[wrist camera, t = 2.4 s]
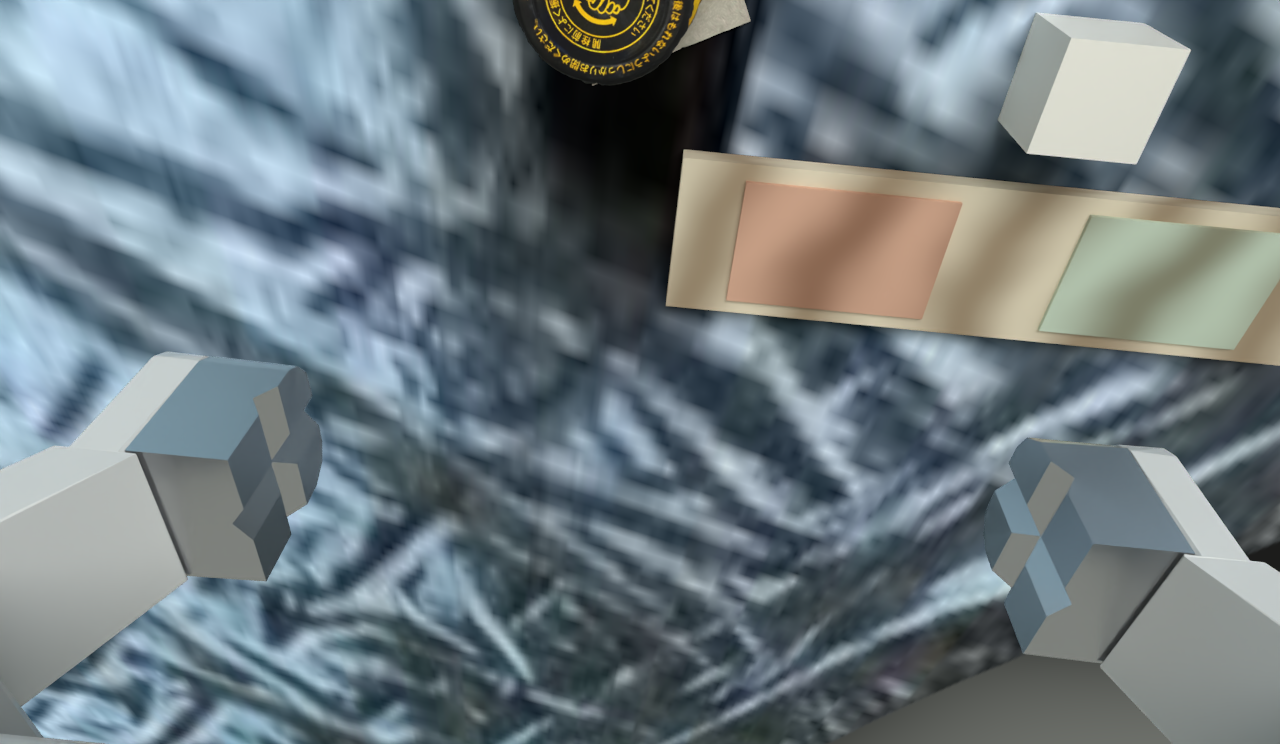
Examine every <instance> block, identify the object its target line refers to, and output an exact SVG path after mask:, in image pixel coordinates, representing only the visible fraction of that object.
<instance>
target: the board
mask: <svg viewBox="0 0 1280 744" xmlns="http://www.w3.org/2000/svg"><path fill="white" fill-rule="evenodd" d="M666 306H672V307H682V308H693V309H703V310H713V311H723V312H734V313H744V314H754V315H765V316H775V317H785V318H795V319H806V320H816V321H826V322H836V323H847V324H857V325H867V326H878V327H888V328H898V329H908V330H919V331H929V332H939V333H950V334H960V335H970V336H980V337H991V338H1001V339H1011V340H1022V341H1032V342H1042V343H1052V344H1063V345H1073V346H1083V347H1093V348H1104V349H1114V350H1124V351H1135V352H1145V353H1155V354H1165V355H1176V356H1186V357H1196V358H1207V359H1217V360H1227V361H1237V362H1248V363H1258V364H1268V365H1278V366H1280V208H1273V207H1263V206H1253V205H1243V204H1233V203H1223V202H1213V201H1202V200H1192V199H1182V198H1172V197H1162V196H1152V195H1142V194H1131V193H1121V192H1111V191H1101V190H1091V189H1081V188H1070V187H1060V186H1050V185H1040V184H1030V183H1020V182H1010V181H999V180H989V179H979V178H969V177H959V176H949V175H938V174H928V173H918V172H908V171H898V170H888V169H878V168H867V167H857V166H847V165H837V164H827V163H817V162H807V161H796V160H786V159H776V158H766V157H756V156H746V155H735V154H725V153H715V152H705V151H695V150H685V149H684V151H683V159H682V168H681V176H680V184H679V193H678V201H677V210H676V218H675V227H674V235H673V244H672V252H671V261H670V269H669V278H668V286H667V295H666Z"/></svg>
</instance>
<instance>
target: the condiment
mask: <svg viewBox="0 0 1280 744" xmlns="http://www.w3.org/2000/svg"><path fill="white" fill-rule="evenodd" d="M513 5H514V11H515V14H516V17H517V19H518V22H519V25H520V26H521V28H522V31H523V32H524V33H525V35H526V37H527V40H528V42H529V43H530V44H531V45H532V47H533V48H534V49H535V51H536V52H537V53H538V54H539V57H540V58H541V59H542V60H543V61H545V62H546V63H547V64H549V65H550V66H551V67H553V68H554V69H556V70H557V71H559V72H561V73H563V74H565V75H568V76H569V77H571V78H573V79H579V80H582V81H583V82H584V83H586V84H592V86H593V85H596V84H601V85H616V84H622V83H626V82H630V81H633V80H635V79H637V78H640V77H643V76H644V75H646V74H648V73H650V72H651V71H653V70H655V69H656V68H657V67H658V66H659V65H660V64H661V63H663V62H664V61H665V60H667V59H668V58H669V56H670V55H671V53H672V52H675V51H677V50H679V49H681V48H682V47H686V46H689V45H692V44H695V43H697V42H699V41H702V40H705V39H707V38H710V37H712V36H714V35H717V34H719V33H721V32H724V31H727V30H730V29H732V28H735V27H737V26H740V25H742V24H745V23H747V22H750V17H749V14H748V11H747V8H746V4H745V1H744V0H513Z"/></svg>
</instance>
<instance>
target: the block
mask: <svg viewBox="0 0 1280 744" xmlns="http://www.w3.org/2000/svg"><path fill="white" fill-rule="evenodd" d="M1190 51H1191V49H1189V48H1187V47H1185V46H1183V45H1182V44H1180V43H1178V42H1176V41H1175V40H1173V39H1171V38H1169V37H1168V36H1166V35H1164V34H1162V33H1161V32H1159V31H1157V30H1155V29H1154V28H1152V27H1150V26H1148V25H1147V24H1145V23H1136V22H1126V21H1116V20H1106V19H1096V18H1086V17H1076V16H1066V15H1056V14H1046V13H1036V14H1035V17H1034V20H1033V22H1032V25H1031V28H1030V31H1029V34H1028V36H1027V39H1026V42H1025V45H1024V48H1023V50H1022V53H1021V56H1020V59H1019V62H1018V64H1017V67H1016V70H1015V73H1014V76H1013V79H1012V81H1011V84H1010V87H1009V90H1008V93H1007V95H1006V98H1005V101H1004V104H1003V107H1002V109H1001V112H1000V115H999V118H998V121H999V122H1000V123H1001V124H1002V126H1003V127H1004V128H1005V129H1006V130H1007V131H1008V132H1009V134H1010V135H1011V136H1012V137H1013V138H1014V139H1015V141H1016V142H1017V143H1018V144H1019V145H1020V146H1021V148H1022V149H1023V150H1024V151H1025V152H1026V153H1027V154H1036V155H1046V156H1056V157H1067V158H1077V159H1087V160H1097V161H1107V162H1117V163H1128V164H1137V162H1138V160H1139V158H1140V156H1141V154H1142V152H1143V149H1144V147H1145V145H1146V143H1147V141H1148V139H1149V137H1150V135H1151V133H1152V131H1153V129H1154V126H1155V124H1156V122H1157V120H1158V118H1159V116H1160V114H1161V112H1162V110H1163V108H1164V106H1165V103H1166V101H1167V99H1168V97H1169V95H1170V93H1171V91H1172V89H1173V87H1174V85H1175V83H1176V80H1177V78H1178V76H1179V74H1180V72H1181V70H1182V68H1183V66H1184V64H1185V62H1186V60H1187V57H1188V55H1189V53H1190Z"/></svg>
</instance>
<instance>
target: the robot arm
mask: <svg viewBox="0 0 1280 744" xmlns="http://www.w3.org/2000/svg"><path fill="white" fill-rule="evenodd" d="M311 397H312V392H311V388H310V385H309V381H308V377H307V373H306V372H305V371H303V370H302V369H301V368H299V367H298V366H290V365H282V364H273V363H265V362H257V361H248V360H240V359H232V358H223V357H215V356H211V357H207V356H201V355H192V354H184V353H175V352H164V353H161V354H158V355H155V356H153V357H152V358H151V359H150V360H149V361H148V362H147V363H146V364H145V366H144V367H143V368H142V369H141V370H140V371H139V372H138V373H137V374H136V375H135V376H134V377H133V378H132V380H131V381H130V382H129V383H128V384H127V385H126V386H125V387H124V388H123V389H122V390H121V391H120V393H119V394H118V395H117V396H116V397H115V398H114V399H113V400H112V401H111V402H110V403H109V404H108V405H107V407H106V408H105V409H104V410H103V411H102V412H101V413H100V414H99V415H98V416H97V417H96V418H95V419H94V421H93V422H92V423H91V424H90V425H89V426H88V427H87V428H86V429H85V430H84V431H83V432H82V434H81V435H80V436H79V437H78V438H77V439H76V440H75V441H74V442H73V443H72V444H71V445H70V446H69V447H63V446H52V447H50V448H48V449H46V450H43V451H41V452H39V453H37V454H34V455H32V456H30V457H28V458H25V459H23V460H21V461H19V462H17V463H14V464H12V465H10V466H8V467H5V468H3V469H1V470H0V744H104V743H93V742H83V741H72V740H61V739H51V738H43V736H42V735H41V734H40V732H39V731H38V729H37V728H36V727H35V725H34V724H33V723H32V721H31V720H30V718H29V717H28V716H27V714H26V713H25V712H24V710H23V709H22V707H21V706H23V705H24V704H25V703H27V702H28V701H29V700H31V699H32V698H33V697H35V696H36V695H37V694H38V693H40V692H41V691H42V690H44V689H45V688H46V687H48V686H49V685H50V684H52V683H53V682H54V681H56V680H57V679H58V678H60V677H61V676H62V675H63V674H65V673H66V672H67V671H69V670H70V669H71V668H73V667H74V666H75V665H77V664H78V663H79V662H81V661H82V660H83V659H85V658H86V657H87V656H89V655H90V654H91V653H92V652H94V651H95V650H96V649H98V648H99V647H100V646H102V645H103V644H104V643H106V642H107V641H108V640H110V639H111V638H112V637H114V636H115V635H116V634H117V633H119V632H120V631H121V630H123V629H124V628H125V627H127V626H128V625H129V624H131V623H132V622H133V621H135V620H136V619H137V618H139V617H140V616H141V615H142V614H144V613H145V612H146V611H148V610H149V609H150V608H152V607H153V606H154V605H156V604H157V603H158V602H160V601H161V600H162V599H164V598H165V597H166V596H167V595H169V594H170V593H171V592H173V591H174V590H175V589H177V588H178V587H179V586H181V585H182V584H183V583H185V582H186V581H187V579H188V578H187V576H197V577H212V578H226V579H241V580H255V581H267V579H268V577H269V575H270V573H271V571H272V570H273V568H274V566H275V564H276V562H277V560H278V558H279V556H280V555H281V553H282V551H283V549H284V547H285V545H286V543H287V541H288V539H289V538H290V536H291V531H290V527H289V523H288V519H287V517H288V516H289V515H291V514H292V513H294V512H295V511H297V510H299V509H300V508H302V507H303V506H305V505H307V503H308V501H309V499H310V497H311V495H312V493H313V491H314V489H315V487H316V485H317V481H318V477H319V472H320V468H321V464H322V439H321V434H320V429H319V425H318V424H317V423H316V422H315V421H314V420H313V419H312V418H311V417H310V416H309V415H308V414H307V413H306V412H305V411H304V409H305V407H306V405H307V404H308V402H309V400H310V399H311ZM1009 465H1010V467H1011V470H1012V472H1013V474H1014V477H1015V479H1013V480H1011V481H1010V482H1008V483H1007V484H1005V485H1003V486H1002V487H1000V488H999V489H997V490H995V492H994V494H993V496H992V498H991V501H990V503H989V505H988V507H987V510H986V513H985V522H984V532H983V536H984V543H985V551H986V554H987V557H988V560H989V563H990V566H991V569H992V571H994V572H995V573H996V574H997V575H998V576H999V577H1000V578H1001V579H1002V580H1004V581H1005V582H1006V583H1007V584H1008V585H1009V586H1010V587H1011V590H1010V592H1009V594H1008V596H1007V598H1006V600H1005V602H1004V604H1005V607H1006V609H1007V612H1008V615H1009V617H1010V620H1011V622H1012V625H1013V628H1014V630H1015V633H1016V636H1017V638H1018V641H1019V644H1020V646H1021V649H1022V652H1023V654H1029V655H1038V656H1046V657H1054V658H1063V659H1070V660H1079V661H1087V662H1096V663H1102V664H1101V666H1100V668H1101V669H1102V670H1103V671H1104V672H1105V673H1106V674H1107V675H1108V676H1109V677H1110V678H1111V679H1112V680H1113V681H1114V682H1115V683H1116V684H1117V685H1118V687H1119V688H1120V689H1121V690H1122V691H1123V692H1124V693H1125V694H1126V695H1127V696H1128V697H1129V698H1130V699H1131V700H1132V701H1133V703H1134V704H1135V705H1136V706H1137V707H1138V708H1139V709H1140V710H1141V711H1142V712H1143V713H1144V714H1145V715H1146V716H1147V717H1148V718H1149V720H1151V722H1152V723H1153V724H1154V725H1155V726H1156V727H1157V728H1158V729H1159V730H1160V731H1161V732H1162V733H1163V734H1164V735H1165V736H1166V738H1167V739H1168V740H1169V741H1170V742H1171V743H1172V744H1280V572H1278V571H1277V570H1275V569H1274V568H1272V567H1271V566H1269V565H1268V564H1266V563H1264V562H1255V561H1250V560H1249V559H1248V558H1247V556H1246V555H1245V553H1244V552H1243V550H1242V549H1241V548H1240V546H1239V545H1238V543H1237V542H1236V540H1235V539H1234V538H1233V536H1232V535H1231V533H1230V532H1229V531H1228V529H1227V528H1226V526H1225V525H1224V523H1223V522H1222V521H1221V519H1220V518H1219V516H1218V515H1217V513H1216V512H1215V511H1214V509H1213V508H1212V506H1211V505H1210V504H1209V502H1208V501H1207V499H1206V498H1205V496H1204V495H1203V494H1202V492H1201V491H1200V489H1199V488H1198V486H1197V485H1196V484H1195V482H1194V481H1193V479H1192V478H1191V477H1190V475H1189V474H1188V472H1187V471H1186V469H1185V468H1184V467H1183V465H1182V464H1181V462H1180V461H1179V460H1178V458H1177V457H1176V456H1175V455H1173V454H1172V453H1170V452H1169V451H1167V450H1166V449H1164V448H1153V447H1140V446H1127V445H1116V446H1111V445H1102V444H1091V443H1080V442H1069V441H1058V440H1047V439H1036V438H1026V439H1025V440H1024V441H1023V442H1022V443H1021V444H1020V445H1019V446H1017V448H1016V450H1015V452H1014V454H1013V456H1012V458H1011V460H1010V461H1009Z"/></svg>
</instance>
